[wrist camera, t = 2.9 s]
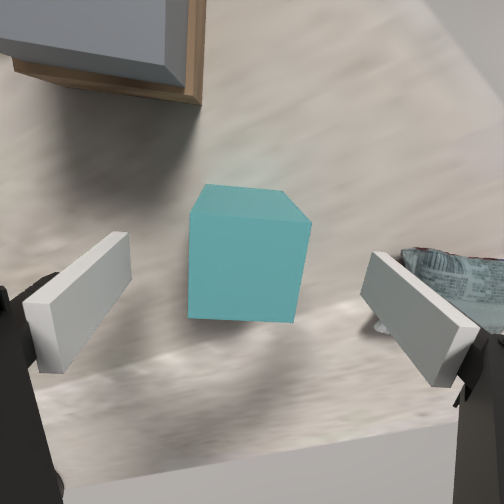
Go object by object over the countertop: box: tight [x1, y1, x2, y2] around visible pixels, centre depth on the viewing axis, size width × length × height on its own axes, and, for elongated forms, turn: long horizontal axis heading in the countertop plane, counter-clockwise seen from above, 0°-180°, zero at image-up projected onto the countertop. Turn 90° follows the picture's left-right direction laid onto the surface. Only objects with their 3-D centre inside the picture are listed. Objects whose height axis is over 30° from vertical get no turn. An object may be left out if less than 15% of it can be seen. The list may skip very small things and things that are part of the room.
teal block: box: [188, 184, 312, 323], centre depth 19 cm, size 6×6×9 cm
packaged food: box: [373, 247, 504, 335], centre depth 25 cm, size 9×12×5 cm
